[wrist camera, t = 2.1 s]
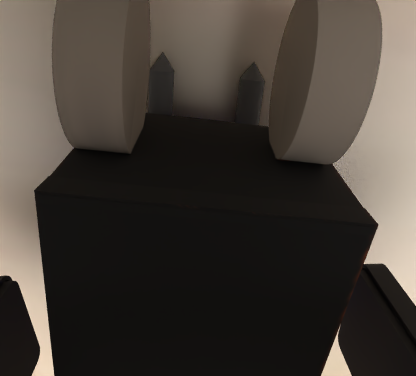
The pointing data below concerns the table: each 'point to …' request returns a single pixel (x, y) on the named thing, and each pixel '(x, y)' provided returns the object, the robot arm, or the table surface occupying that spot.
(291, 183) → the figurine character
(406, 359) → the robot arm
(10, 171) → the table surface
